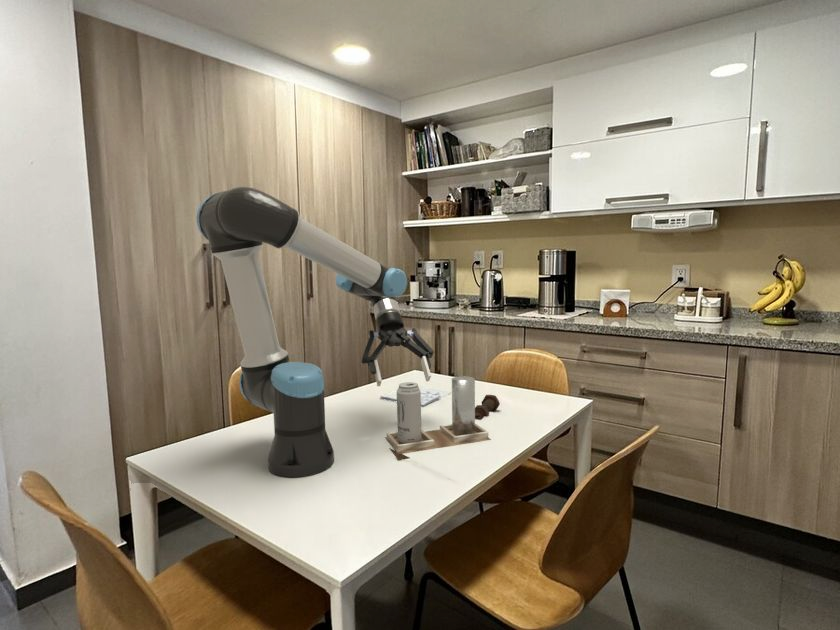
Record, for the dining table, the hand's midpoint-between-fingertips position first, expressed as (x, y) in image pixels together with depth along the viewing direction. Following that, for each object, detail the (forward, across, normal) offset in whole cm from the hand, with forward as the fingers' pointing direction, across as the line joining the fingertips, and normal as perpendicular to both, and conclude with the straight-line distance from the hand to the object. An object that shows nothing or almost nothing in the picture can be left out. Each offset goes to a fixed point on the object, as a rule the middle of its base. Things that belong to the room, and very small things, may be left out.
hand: (404, 381), depth 126 cm
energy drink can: (+15, +1, -6) cm, 16 cm away
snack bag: (-15, -16, -39) cm, 45 cm away
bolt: (+5, -28, -18) cm, 33 cm away
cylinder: (+15, -14, -6) cm, 21 cm away
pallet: (+16, -7, -6) cm, 18 cm away
